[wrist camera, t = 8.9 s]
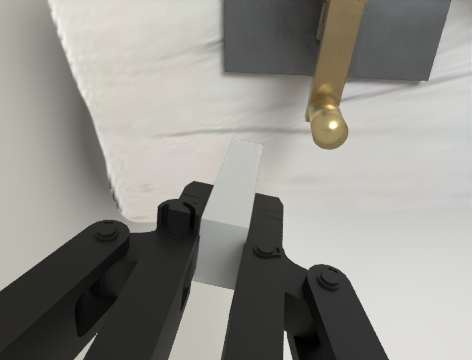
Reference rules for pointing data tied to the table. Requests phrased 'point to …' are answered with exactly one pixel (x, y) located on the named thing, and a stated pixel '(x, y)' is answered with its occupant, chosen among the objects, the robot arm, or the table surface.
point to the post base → (307, 45)
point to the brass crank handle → (332, 70)
